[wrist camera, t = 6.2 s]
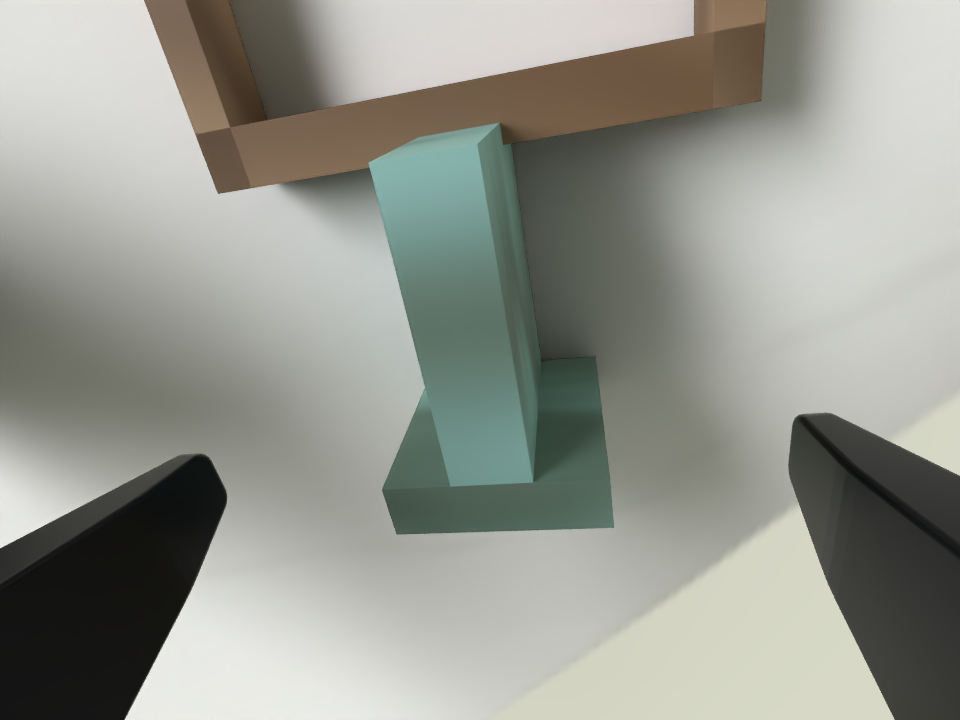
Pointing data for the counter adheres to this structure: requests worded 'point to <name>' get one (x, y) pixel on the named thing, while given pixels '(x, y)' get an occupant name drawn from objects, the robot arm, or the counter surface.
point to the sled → (467, 242)
